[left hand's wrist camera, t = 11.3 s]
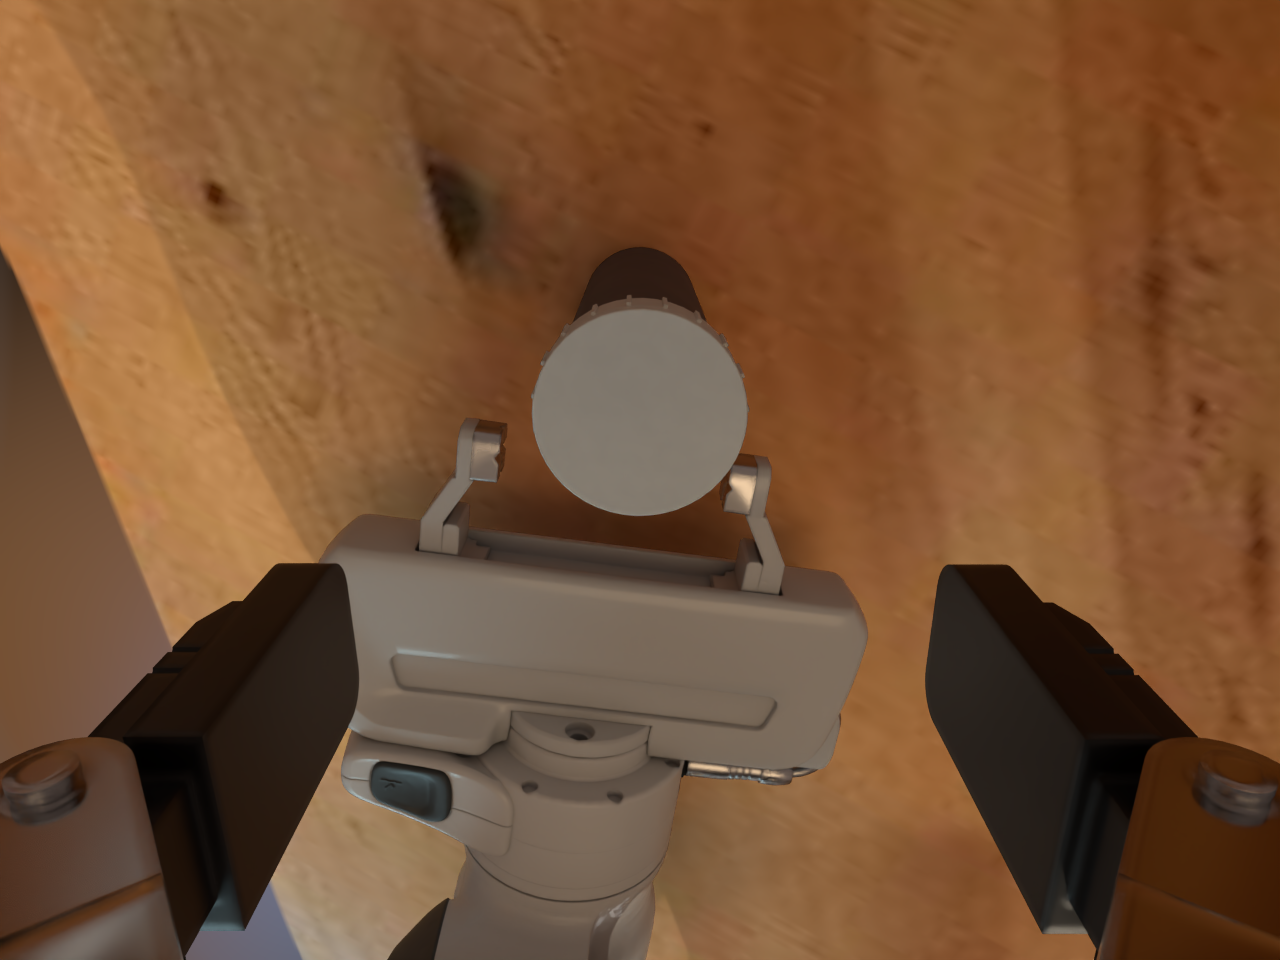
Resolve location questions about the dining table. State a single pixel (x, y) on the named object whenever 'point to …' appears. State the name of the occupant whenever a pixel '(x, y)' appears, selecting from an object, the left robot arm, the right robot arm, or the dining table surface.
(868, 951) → the dining table surface
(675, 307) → the lid
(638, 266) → the dark brown cylinder
